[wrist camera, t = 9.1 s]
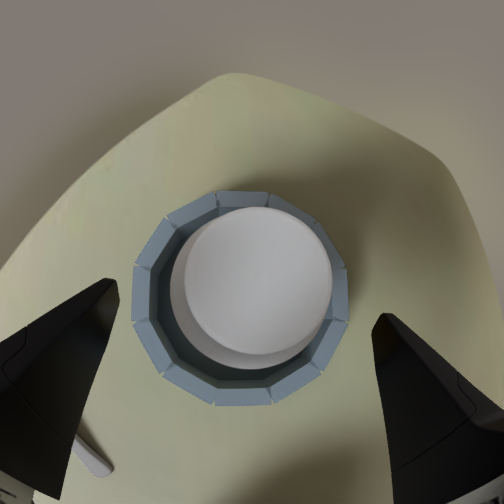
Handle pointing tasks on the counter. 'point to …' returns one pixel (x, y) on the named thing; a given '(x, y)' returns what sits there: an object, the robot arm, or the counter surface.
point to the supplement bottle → (251, 287)
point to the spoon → (91, 458)
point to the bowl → (179, 347)
